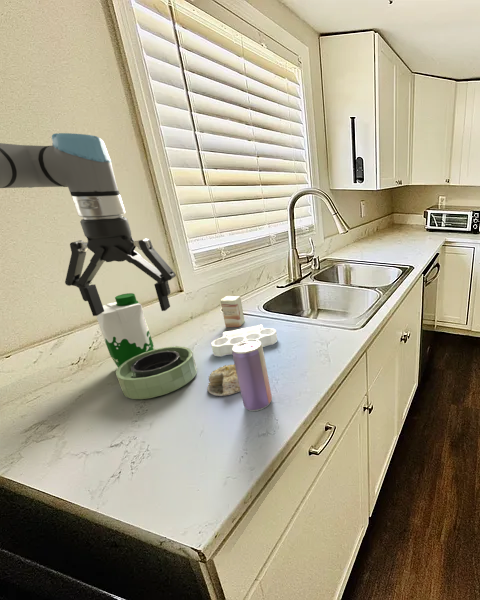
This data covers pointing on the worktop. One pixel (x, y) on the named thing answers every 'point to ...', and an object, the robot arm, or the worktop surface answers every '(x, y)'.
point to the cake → (224, 381)
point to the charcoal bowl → (155, 364)
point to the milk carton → (125, 328)
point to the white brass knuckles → (243, 339)
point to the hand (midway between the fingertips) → (133, 311)
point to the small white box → (232, 311)
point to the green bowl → (157, 376)
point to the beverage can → (252, 374)
